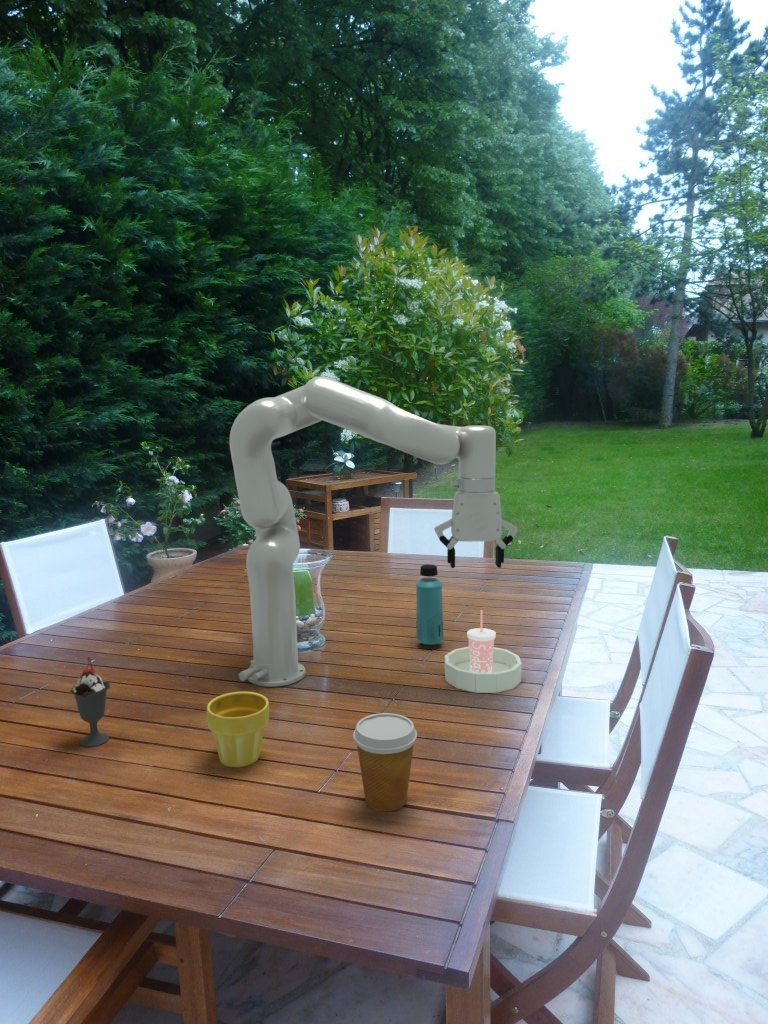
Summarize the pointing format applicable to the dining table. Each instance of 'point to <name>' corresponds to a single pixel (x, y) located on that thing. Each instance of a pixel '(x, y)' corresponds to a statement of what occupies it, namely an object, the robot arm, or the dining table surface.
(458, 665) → the bowl
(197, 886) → the dining table surface
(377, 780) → the disposable coffee cup
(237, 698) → the plant pot
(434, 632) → the beverage bottle
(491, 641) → the beverage cup
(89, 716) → the sundae
